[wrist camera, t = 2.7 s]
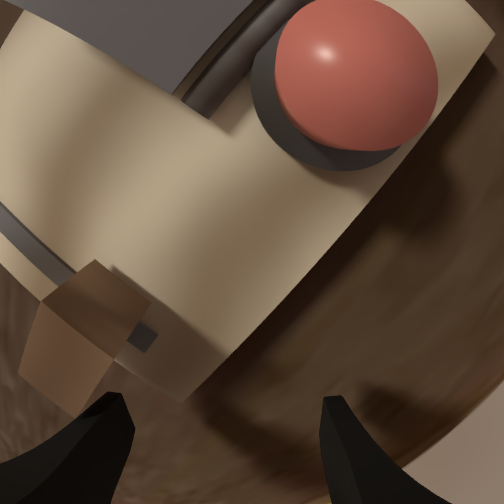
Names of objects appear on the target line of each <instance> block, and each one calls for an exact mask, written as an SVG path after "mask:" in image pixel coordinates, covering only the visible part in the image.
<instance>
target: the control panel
mask: <svg viewBox="0 0 504 504" xmlns="http://www.w3.org/2000/svg"><path fill="white" fill-rule="evenodd" d="M314 1H316V0H256V1H255V2H254V3H252V4H251V5H250V6H249V7H248V9H247V10H246V11H245V12H244V13H243V14H242V15H241V16H240V17H239V18H238V19H237V20H236V21H235V22H234V23H233V24H232V25H231V26H230V27H229V28H228V29H227V31H226V32H225V33H224V34H223V35H222V36H221V37H220V38H219V39H218V41H217V42H216V43H215V44H214V45H213V46H212V47H211V48H210V50H209V51H208V52H207V53H206V54H205V55H204V57H203V58H202V59H201V60H200V61H199V63H198V64H197V65H196V66H195V67H194V69H193V70H192V71H191V72H190V74H189V75H188V76H187V77H186V79H185V80H184V81H183V82H182V84H181V85H180V86H179V88H178V89H177V90H176V91H175V93H174V94H173V95H171V94H169V93H168V92H166V91H165V90H163V89H162V88H160V87H158V86H157V85H155V84H154V83H152V82H151V81H149V80H148V79H146V78H145V77H143V76H141V75H140V74H138V73H137V72H135V71H133V70H132V69H130V68H129V67H127V66H125V65H124V64H122V63H120V62H119V61H117V60H116V59H114V58H112V57H111V56H109V55H107V54H106V53H104V52H102V51H100V50H99V49H97V48H95V47H94V46H92V45H90V44H88V43H87V42H85V41H83V40H81V39H80V38H78V37H76V36H74V35H72V34H71V33H69V32H67V31H65V30H63V29H61V28H59V27H58V26H56V25H54V24H52V23H50V22H48V21H46V20H44V19H42V18H40V17H38V16H36V15H34V14H32V13H30V12H28V11H26V10H24V11H23V13H22V14H21V16H20V17H19V19H18V21H17V22H16V24H15V25H14V27H13V28H12V30H11V32H10V33H9V35H8V37H7V38H6V40H5V42H4V44H3V45H2V47H1V49H0V263H1V264H2V265H3V266H4V267H5V268H6V269H7V270H8V271H9V272H10V273H11V274H12V275H13V276H14V277H15V278H16V279H17V280H18V281H19V282H20V283H21V284H22V285H23V286H24V287H25V288H26V289H28V290H29V291H30V292H31V293H32V294H33V295H34V296H35V297H36V298H37V299H38V300H39V301H41V300H43V299H44V298H45V297H46V296H48V295H49V294H50V293H51V292H53V291H54V290H55V289H56V288H58V287H59V286H60V285H61V284H63V283H64V282H65V281H67V280H68V279H69V278H70V277H72V276H73V275H74V274H76V273H77V272H78V271H80V270H81V269H82V268H83V267H85V266H86V265H87V264H89V263H90V262H91V261H93V260H94V259H96V260H97V261H98V262H99V263H101V264H102V265H103V266H104V267H106V268H107V269H108V270H109V271H111V272H112V273H113V274H114V275H116V276H117V277H118V278H120V279H121V280H122V281H123V282H125V283H126V284H127V285H129V286H130V287H131V288H133V289H134V290H135V291H137V292H138V293H139V294H141V295H142V296H143V297H145V298H146V299H147V300H149V301H150V302H151V304H150V306H149V307H148V309H147V310H146V312H145V313H144V315H143V316H142V318H141V319H140V321H139V322H138V324H137V325H136V327H135V328H134V330H133V331H132V333H131V334H130V336H129V337H128V339H127V340H126V342H125V343H124V345H123V347H122V348H121V350H120V351H119V353H118V354H117V356H116V357H115V359H114V361H116V362H117V363H119V364H120V365H121V366H123V367H124V368H126V369H127V370H129V371H130V372H132V373H133V374H134V375H136V376H137V377H139V378H140V379H142V380H144V381H145V382H147V383H148V384H150V385H151V386H153V387H154V388H156V389H158V390H159V391H161V392H162V393H164V394H166V395H167V396H169V397H170V398H172V399H174V400H175V401H177V402H179V403H180V404H181V403H182V402H183V401H184V400H185V399H186V398H187V397H188V396H189V395H191V394H192V393H193V392H194V391H195V390H196V389H197V388H198V387H199V386H200V385H201V384H202V383H203V382H204V381H205V380H206V379H207V378H208V377H209V376H210V375H211V374H212V373H213V372H214V371H215V370H216V369H217V368H218V367H219V366H220V365H221V364H222V363H223V362H224V361H225V360H226V359H227V358H228V357H229V356H230V355H231V354H232V353H233V352H234V351H235V350H236V349H237V348H238V347H239V345H240V344H241V343H242V342H243V341H244V340H245V339H246V338H247V337H248V336H249V335H250V334H251V333H252V332H253V331H254V330H255V329H256V328H257V327H258V326H259V325H260V324H261V323H262V321H263V320H264V319H265V318H266V317H267V316H268V315H269V314H270V313H271V312H272V311H273V310H274V309H275V308H276V307H277V306H278V304H279V303H280V302H281V301H282V300H283V299H284V298H285V297H286V296H287V295H288V294H289V293H290V291H291V290H292V289H293V288H294V287H295V286H296V285H297V284H298V283H299V282H300V280H301V279H302V278H303V277H304V276H305V275H306V274H307V273H308V272H309V271H310V269H311V268H312V267H313V266H314V265H315V264H316V263H317V262H318V260H319V259H320V258H321V257H322V256H323V255H324V254H325V253H326V251H327V250H328V249H329V248H330V247H331V246H332V245H333V243H334V242H335V241H336V240H337V239H338V238H339V236H340V235H341V234H342V233H343V232H344V231H345V230H346V228H347V227H348V226H349V225H350V224H351V223H352V221H353V220H354V219H355V218H356V217H357V215H358V214H359V213H360V212H361V211H362V210H363V208H364V207H365V206H366V205H367V204H368V202H369V201H370V200H371V199H372V198H373V196H374V195H375V194H376V193H377V192H378V190H379V189H380V188H381V187H382V186H383V184H384V183H385V182H386V181H387V179H388V178H389V177H390V176H391V174H392V173H393V172H394V171H395V170H396V168H397V167H398V166H399V165H400V163H401V162H402V161H403V160H404V158H405V157H406V156H407V154H408V153H409V152H410V151H411V149H412V148H413V147H414V146H415V144H416V143H417V142H418V140H419V139H420V138H421V137H422V135H423V134H424V133H425V131H426V130H427V129H428V128H429V126H430V125H431V124H432V122H433V121H434V120H435V118H436V117H437V116H438V114H439V113H440V112H441V110H442V109H443V108H444V106H445V105H446V104H447V102H448V101H449V100H450V98H451V97H452V95H453V94H454V93H455V91H456V90H457V89H458V87H459V86H460V84H461V83H462V82H463V80H464V79H465V77H466V76H467V75H468V73H469V72H470V70H471V69H472V68H473V66H474V65H475V63H476V62H477V60H478V59H479V58H480V56H481V55H482V53H483V52H484V50H485V49H486V47H487V46H488V44H489V43H490V41H491V40H492V38H493V37H494V35H495V33H494V32H493V30H492V29H491V28H490V27H489V26H488V25H487V23H486V22H485V21H484V20H483V19H482V18H481V17H480V16H479V14H478V13H477V12H476V11H475V10H474V9H473V8H472V7H471V6H470V5H469V4H468V3H467V2H466V1H465V0H375V1H378V2H381V3H383V4H385V5H387V6H389V7H391V8H392V9H394V10H395V11H397V12H398V13H400V14H401V15H402V16H404V17H405V18H406V19H407V20H408V21H409V22H410V23H411V24H412V25H413V26H414V27H415V28H416V29H417V30H418V32H419V33H420V34H421V35H422V37H423V38H424V40H425V41H426V43H427V45H428V47H429V49H430V51H431V53H432V55H433V58H434V61H435V64H436V69H437V74H438V96H437V102H436V105H435V109H434V111H433V113H432V116H431V118H430V119H429V121H428V123H427V124H426V126H425V127H424V128H423V129H422V130H421V131H420V132H419V133H418V134H417V135H416V136H415V137H413V138H412V139H411V140H409V141H407V142H406V143H404V144H402V145H399V146H397V147H395V148H391V149H387V150H379V151H360V150H342V149H335V148H331V147H327V146H324V145H322V144H319V143H317V142H315V141H313V140H311V139H310V138H308V137H307V136H305V135H304V134H302V133H301V132H300V131H299V130H298V129H297V128H296V127H295V126H294V125H293V124H292V123H291V122H290V121H289V120H288V118H287V117H286V115H285V114H284V112H283V110H282V108H281V106H280V104H279V102H278V99H277V96H276V92H275V87H274V69H275V61H276V53H277V47H278V43H279V39H280V37H281V34H282V32H283V30H284V28H285V26H286V25H287V23H288V21H289V20H290V19H291V18H292V17H293V16H294V14H296V13H297V12H298V11H299V10H300V9H301V8H303V7H304V6H306V5H308V4H309V3H311V2H314Z"/></svg>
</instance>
